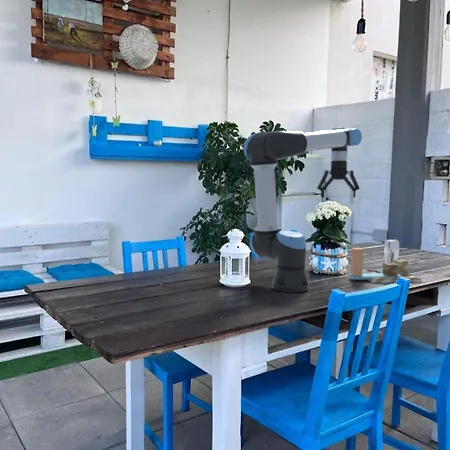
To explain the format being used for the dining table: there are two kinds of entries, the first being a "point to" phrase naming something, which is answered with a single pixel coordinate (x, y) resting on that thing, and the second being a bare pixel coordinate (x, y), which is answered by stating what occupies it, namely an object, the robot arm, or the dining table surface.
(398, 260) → the oak block
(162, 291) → the dining table surface
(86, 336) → the dining table surface
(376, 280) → the lane board
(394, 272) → the walnut block
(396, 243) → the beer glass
